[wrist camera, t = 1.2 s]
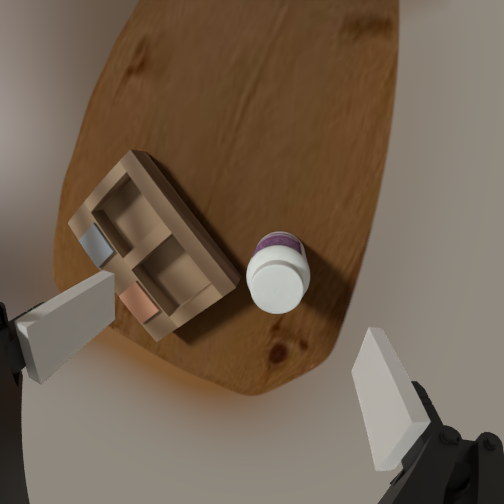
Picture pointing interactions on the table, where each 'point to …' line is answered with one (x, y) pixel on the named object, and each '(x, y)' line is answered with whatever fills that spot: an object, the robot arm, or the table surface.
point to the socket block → (152, 246)
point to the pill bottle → (278, 273)
